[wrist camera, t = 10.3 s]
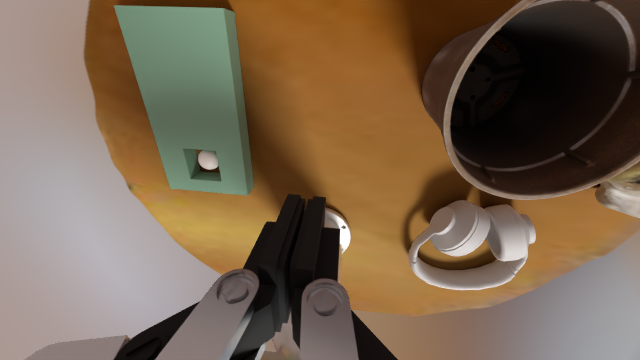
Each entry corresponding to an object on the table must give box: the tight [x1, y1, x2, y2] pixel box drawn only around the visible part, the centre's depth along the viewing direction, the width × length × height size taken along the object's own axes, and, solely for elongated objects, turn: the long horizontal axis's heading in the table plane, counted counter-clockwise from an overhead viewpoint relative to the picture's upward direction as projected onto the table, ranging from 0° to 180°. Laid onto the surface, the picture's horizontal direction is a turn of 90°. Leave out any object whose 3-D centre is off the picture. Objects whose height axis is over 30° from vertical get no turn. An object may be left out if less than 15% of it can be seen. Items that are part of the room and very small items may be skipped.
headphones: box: [408, 200, 536, 290], centre depth 40 cm, size 18×8×20 cm
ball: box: [198, 150, 219, 170], centre depth 39 cm, size 4×4×4 cm
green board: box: [114, 5, 254, 195], centre depth 36 cm, size 26×14×3 cm, turn 178°
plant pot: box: [422, 0, 640, 200], centre depth 24 cm, size 16×16×16 cm
